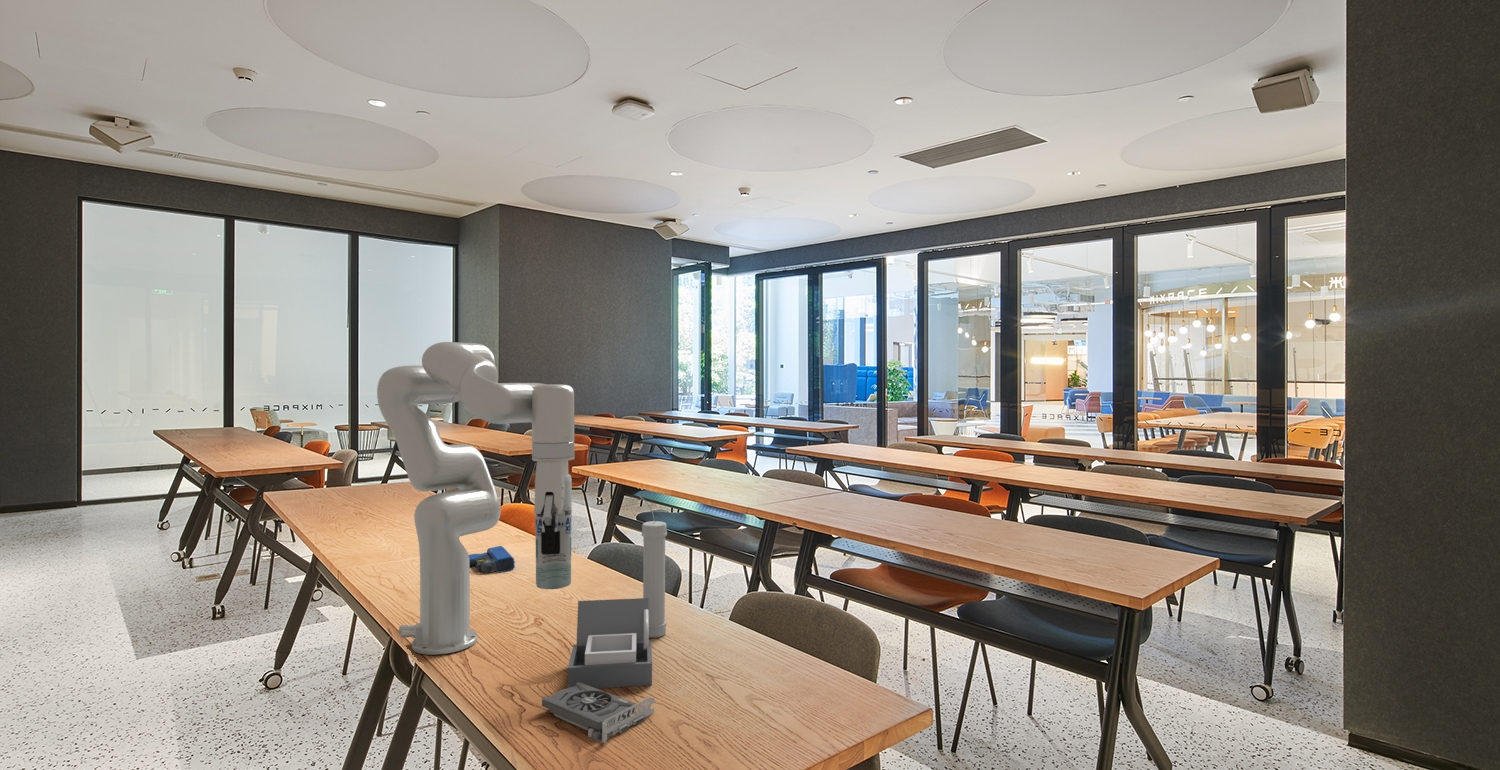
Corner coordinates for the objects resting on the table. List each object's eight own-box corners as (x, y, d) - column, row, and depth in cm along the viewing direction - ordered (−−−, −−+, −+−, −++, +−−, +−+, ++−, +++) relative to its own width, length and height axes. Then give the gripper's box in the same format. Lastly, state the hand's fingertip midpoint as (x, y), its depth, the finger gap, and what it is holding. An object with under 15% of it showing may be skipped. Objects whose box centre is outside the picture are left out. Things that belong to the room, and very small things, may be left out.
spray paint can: (534, 580, 132) (534, 474, 131) (570, 577, 134) (570, 472, 134) (535, 591, 126) (535, 479, 125) (573, 587, 128) (573, 477, 127)
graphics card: (658, 696, 118) (605, 723, 108) (658, 719, 118) (605, 748, 108) (590, 672, 128) (535, 695, 118) (590, 692, 128) (535, 717, 118)
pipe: (661, 639, 151) (662, 499, 150) (634, 637, 152) (634, 498, 152) (669, 630, 156) (670, 495, 156) (643, 627, 158) (643, 494, 157)
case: (567, 690, 127) (567, 628, 127) (575, 654, 143) (575, 599, 142) (651, 684, 129) (652, 624, 129) (650, 650, 145) (650, 596, 145)
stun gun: (459, 567, 195) (515, 555, 203) (451, 554, 209) (504, 543, 216) (460, 582, 195) (516, 569, 203) (453, 568, 209) (505, 557, 216)
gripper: (540, 447, 137) (540, 538, 138) (523, 457, 120) (523, 562, 121) (579, 446, 138) (579, 537, 139) (568, 456, 121) (568, 560, 122)
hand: (553, 548), depth 130 cm, fingers closed on spray paint can, 6 cm apart
